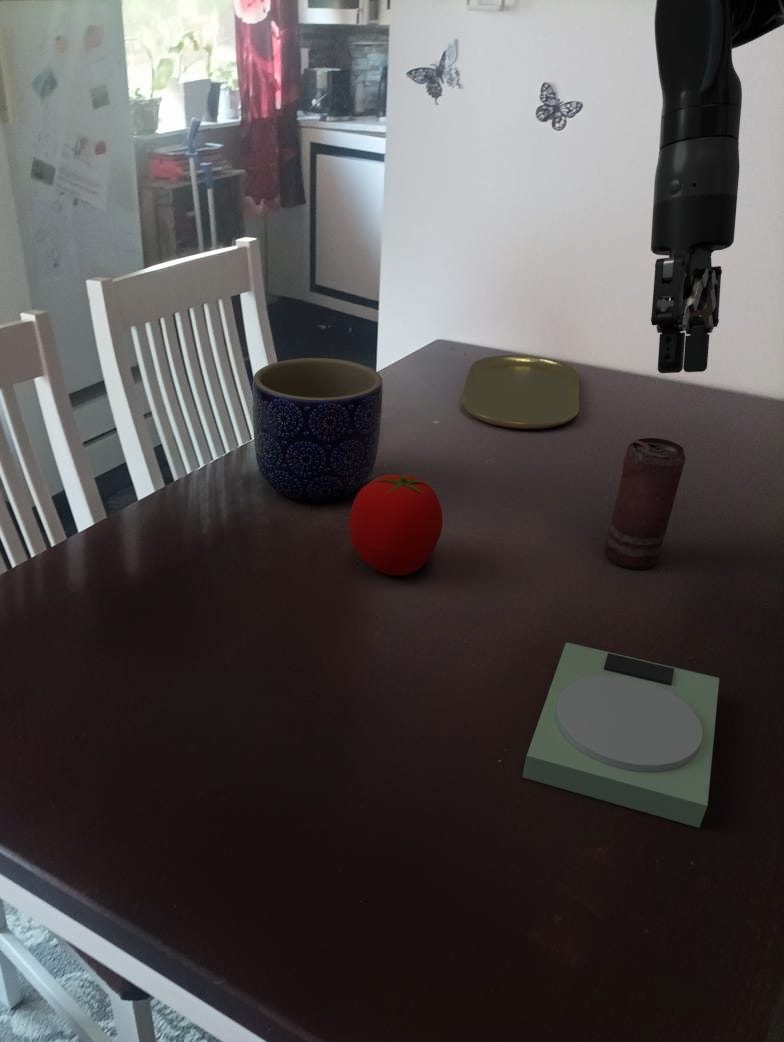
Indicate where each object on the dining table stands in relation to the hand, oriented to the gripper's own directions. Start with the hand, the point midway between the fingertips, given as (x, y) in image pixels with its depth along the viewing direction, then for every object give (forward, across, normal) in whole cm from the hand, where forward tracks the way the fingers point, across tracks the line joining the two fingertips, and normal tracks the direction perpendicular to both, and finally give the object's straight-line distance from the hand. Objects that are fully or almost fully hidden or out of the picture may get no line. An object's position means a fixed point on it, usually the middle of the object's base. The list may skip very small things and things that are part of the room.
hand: (682, 372), depth 92 cm
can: (+21, +7, +7) cm, 23 cm away
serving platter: (+3, +48, +40) cm, 63 cm away
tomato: (+20, -12, +28) cm, 36 cm away
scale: (+31, -24, -4) cm, 39 cm away
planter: (+13, -1, +47) cm, 48 cm away
